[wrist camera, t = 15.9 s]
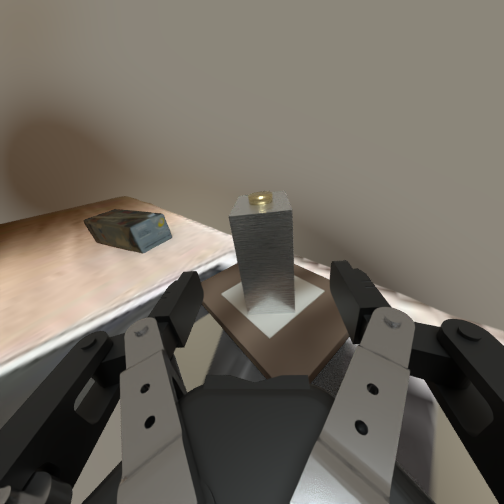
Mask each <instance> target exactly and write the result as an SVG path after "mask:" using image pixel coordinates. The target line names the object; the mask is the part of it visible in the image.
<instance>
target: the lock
mask: <svg viewBox="0 0 504 504" xmlns="http://www.w3.org/2000/svg"><path fill="white" fill-rule="evenodd" d="M229 221H230V226H231V231H232V236H233V241H234V246H235V251H236V256H237V261H238V267H239V272H240V277H241V282H242V287H243V292H244V297H245V302H246V307H247V312H248V315H258V314H283V313H295V287H294V254H293V221H292V208H291V205H290V203H289V200H288V198H287V195H286V192H285V191H279V192H267V191H265V192H257V193H252V194H250V195H245V196H239V198H238V199H237V202H236V203H235V205H234V207H233V209H232V211H231V213H230V215H229Z"/></svg>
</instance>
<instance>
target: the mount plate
mask: <svg viewBox="0 0 504 504" xmlns="http://www.w3.org/2000/svg"><path fill="white" fill-rule="evenodd" d="M201 285H202V288H203V291H204V298H203V302H202V305H203V306H204V307H205V309H206V310H207V311H208V312H209V313H210V314H211V315H212V317H213V318H214V319H215V320H216V321H217V322H218V323H219V325H220V326H221V327H222V328H223V329H224V330H225V332H226V333H227V334H228V335H229V336H230V337H231V338H232V340H233V341H234V342H235V343H236V344H237V345H238V346H239V348H240V349H241V350H242V351H243V352H244V353H245V355H246V356H247V357H248V358H249V359H250V360H251V361H252V363H253V364H254V365H255V366H256V367H257V368H258V369H259V371H260V372H261V373H262V374H263V375H264V376H265V378H266V379H270V378H273V377H277V376H280V375H308V379H309V384H310V383H311V382H312V381H313V380H314V379H315V377H316V376H317V375H318V374H319V373H320V371H321V370H322V369H323V368H324V367H325V365H326V364H327V363H328V362H329V361H330V359H331V358H332V357H333V356H334V355H335V353H336V352H337V351H338V350H339V349H340V347H341V346H342V345H343V344H344V343H345V341H346V340H347V339H348V338H349V337H350V336H349V334H348V332H347V329H346V327H345V325H344V322H343V320H342V318H341V315H340V313H339V311H338V308H337V306H336V304H335V301H334V299H333V297H332V294H331V291H330V280H329V279H327V278H324V277H322V276H320V275H318V274H315V273H313V272H311V271H309V270H307V269H304V268H302V267H300V266H298V265H295V264H294V287H295V313H283V314H258V315H248V312H247V307H246V302H245V297H244V292H243V287H242V282H241V277H240V272H239V267H238V263H237V264H235V265H233V266H231V267H229V268H227V269H226V270H224V271H222V272H220V273H218V274H216V275H214V276H212V277H210V278H209V279H207V280H205V281H203V282H201Z"/></svg>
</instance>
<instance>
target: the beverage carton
mask: <svg viewBox="0 0 504 504" xmlns="http://www.w3.org/2000/svg"><path fill="white" fill-rule="evenodd" d="M84 223H85V225H86V227H87V228H88V230H89V231H90V233H91V235H92V236H93V238H94V239H95V241H96V242H98V243H102V244H106V245H110V246H114V247H118V248H122V249H126V250H130V251H135V252H139V253H145V252H147V251H149V250H150V249H152V248H154V247H156V246H158V245H160V244H161V243H163V242H165V241H167V240H169V239H171V238H172V235H171V233H170V229H169V227H168V225H167V223H166V220H165V217H164V215H163V214H161V213H151V212H142V211H130V210H119V209H114V210H111V211H109V212H106V213H102V214H99V215H97V216H93V217H91V218H88V219H85V220H84Z"/></svg>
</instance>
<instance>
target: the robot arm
mask: <svg viewBox="0 0 504 504" xmlns="http://www.w3.org/2000/svg"><path fill="white" fill-rule="evenodd" d="M330 291H331V294H332V297H333V299H334V301H335V304H336V306H337V308H338V311H339V313H340V315H341V318H342V320H343V322H344V325H345V327H346V329H347V332H348V334H349V336H350V338H351V341H352V343H353V344H360V345H358V346H357V348H356V350H355V353H354V355H353V358H352V360H351V362H350V365H349V367H348V370H347V372H346V374H345V377H344V379H343V382H342V384H341V386H340V389H339V391H338V393H337V396H336V397H335V396H333V395H332V394H330V393H329V392H328V391H326V390H324V389H322V388H320V387H318V386H315V385H313V384H309V379H308V375H280V376H277V377H273V378H270V379H266V380H263V381H260V382H251V381H248V380H244V379H241V378H237V377H234V376H231V375H206V379H205V383H204V385H201V386H199V387H196V388H194V389H193V390H191V391H189V392H188V393H187V391H186V388H185V386H184V383H183V380H182V377H181V374H180V370H179V367H178V364H177V361H176V358H175V355H174V351H175V348H182V347H184V346H185V344H186V342H187V339H188V337H189V334H190V332H191V329H192V327H193V324H194V322H195V319H196V317H197V314H198V312H199V309H200V307H201V304H202V302H203V298H204V291H203V288H202V285H201V282H200V279H199V276H198V273H197V272H196V271H189V272H183V273H182V274H181V276H180V277H179V279H178V280H176V281H174V282H173V283H172V284H171V285H169V286H168V288H167V289H166V291H165V292H164V294H163V295H162V297H161V299H160V300H159V301H158V303H157V304H156V306H155V307H154V308H153V310H152V311H151V313H150V314H149V316H148V317H147V318H143V319H141V320H139V321H137V322H135V323H134V324H132V325H131V326H130V327H129V328H128V330H127V331H126V333H123V334H120V335H117V336H113V337H109V336H108V334H107V333H106V332H104V331H98V332H94V333H92V334H89V335H88V336H86V337H84V338H83V339H81V340H80V341H79V342H78V343H77V344H76V345H75V346H74V347H73V348H72V349H71V350H70V352H69V353H68V354H67V355H66V356H65V357H64V358H63V359H62V361H61V362H60V363H59V364H58V365H57V366H56V367H55V369H54V370H53V371H52V372H51V373H50V374H49V375H48V376H47V378H46V379H45V380H44V381H43V382H42V383H41V384H40V385H39V387H38V388H37V389H36V390H35V391H34V392H33V393H32V395H31V396H30V397H29V398H28V399H27V400H26V401H25V402H24V404H23V405H22V406H21V407H20V408H19V409H18V410H17V411H16V413H15V414H14V415H13V416H12V417H11V418H10V419H9V420H8V422H7V423H6V424H5V425H4V426H3V427H2V428H1V430H0V504H71V499H72V489H73V487H74V485H75V483H76V481H77V479H78V477H79V476H80V474H81V472H82V470H83V468H84V466H85V464H86V462H87V460H88V458H89V456H90V455H91V453H92V451H93V449H94V447H95V445H96V443H97V441H98V439H99V437H100V435H101V433H102V431H103V430H104V428H105V426H106V424H107V422H108V420H109V418H110V416H111V414H112V412H113V411H114V409H115V407H116V405H117V403H118V401H119V399H120V400H121V401H120V403H121V439H122V461H121V462H120V463H119V464H118V465H117V466H116V467H115V468H114V469H113V470H112V472H111V473H110V474H109V475H108V476H107V477H106V478H105V479H104V480H103V481H102V482H101V483H100V484H99V486H98V487H97V488H96V489H95V490H94V491H93V492H92V493H91V494H90V495H89V496H88V497H87V498H86V499H85V500H84V501H83V503H82V504H435V502H434V501H433V500H432V499H431V498H430V497H429V496H428V495H427V494H426V493H425V492H424V491H423V490H422V488H421V487H420V486H419V485H418V484H417V483H416V482H415V481H414V480H413V479H412V478H411V477H410V476H409V474H408V473H407V472H406V471H405V470H404V469H403V468H402V467H401V466H400V465H399V464H398V463H397V462H396V460H395V459H396V453H397V447H398V441H399V435H400V429H401V423H402V418H403V412H404V406H405V400H406V394H407V388H408V382H409V376H414V377H417V378H421V379H424V380H425V382H426V383H427V385H428V387H429V388H430V390H431V392H432V393H433V395H434V397H435V398H436V400H437V402H438V403H439V405H440V407H441V408H442V410H443V411H444V413H445V415H446V417H447V418H448V420H449V421H450V423H451V425H452V427H453V428H454V430H455V431H456V433H457V435H458V436H459V438H460V440H461V441H462V443H463V444H464V446H465V448H466V450H467V451H468V453H469V455H470V456H471V458H472V460H473V461H474V463H475V464H476V466H477V468H478V470H479V471H480V473H481V474H482V476H483V478H484V479H485V481H486V483H487V484H488V486H489V488H490V489H491V491H492V493H493V494H494V496H495V498H496V499H497V501H498V503H499V504H504V346H503V345H502V344H501V343H500V342H499V341H498V340H497V339H496V338H495V337H494V336H492V335H491V334H490V333H489V332H488V331H486V330H485V329H483V328H481V327H479V326H477V325H475V324H473V323H470V322H467V321H464V320H459V319H448V320H445V321H444V322H443V323H442V325H441V327H437V326H432V325H427V324H422V323H417V322H413V320H412V319H411V318H410V317H409V316H408V315H407V314H405V313H404V312H402V311H400V310H397V309H395V308H392V307H391V306H390V305H389V303H388V302H387V301H386V299H385V298H384V297H383V296H382V294H381V293H380V292H379V290H378V289H377V288H376V287H375V285H374V284H373V282H371V280H370V278H369V277H368V276H367V275H366V274H365V273H364V272H362V271H361V270H359V269H352V267H351V266H350V264H349V263H348V261H346V260H344V261H332V263H331V271H330ZM91 377H92V378H93V379H94V380H95V383H94V384H93V386H92V387H91V389H90V390H89V392H88V393H87V395H86V396H85V398H84V399H83V401H82V402H81V404H80V405H79V407H78V408H77V410H76V411H75V410H74V403H75V400H76V398H77V396H78V395H79V393H80V392H81V391H82V389H83V388H84V386H85V385H86V383H87V382H88V380H89V379H90V378H91Z"/></svg>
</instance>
